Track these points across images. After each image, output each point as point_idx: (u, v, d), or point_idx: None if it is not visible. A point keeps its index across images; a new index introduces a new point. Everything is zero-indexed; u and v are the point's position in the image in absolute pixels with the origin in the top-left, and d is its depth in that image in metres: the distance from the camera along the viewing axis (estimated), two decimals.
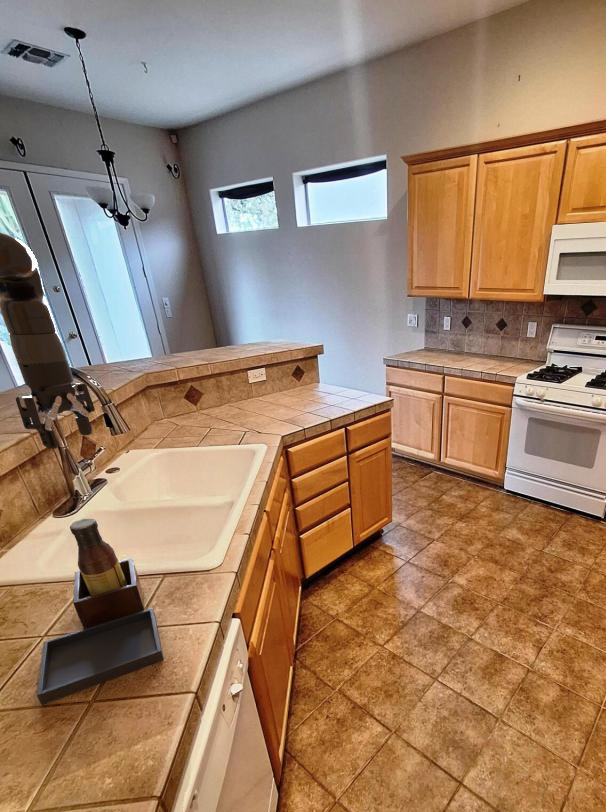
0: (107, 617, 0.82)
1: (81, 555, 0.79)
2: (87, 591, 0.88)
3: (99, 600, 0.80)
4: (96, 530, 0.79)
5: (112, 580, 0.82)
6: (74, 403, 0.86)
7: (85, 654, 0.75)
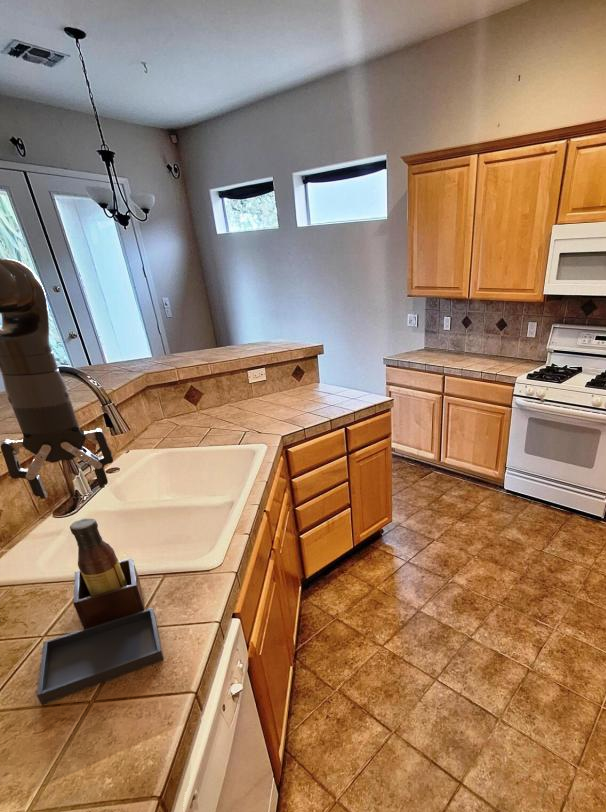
0: (107, 617, 0.82)
1: (81, 555, 0.79)
2: (87, 591, 0.88)
3: (99, 600, 0.80)
4: (96, 530, 0.79)
5: (112, 580, 0.82)
6: (74, 453, 0.72)
7: (85, 654, 0.75)
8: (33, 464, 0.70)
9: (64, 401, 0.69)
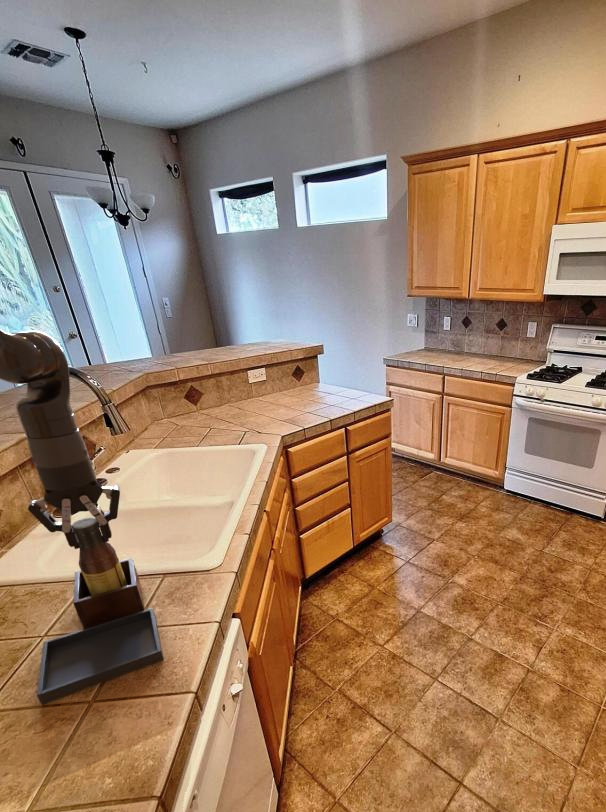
0: (107, 617, 0.82)
1: (82, 554, 0.79)
2: (87, 591, 0.88)
3: (99, 600, 0.80)
4: (98, 530, 0.79)
5: (112, 580, 0.82)
6: (88, 507, 0.76)
7: (85, 654, 0.75)
8: (63, 519, 0.75)
9: (83, 458, 0.73)
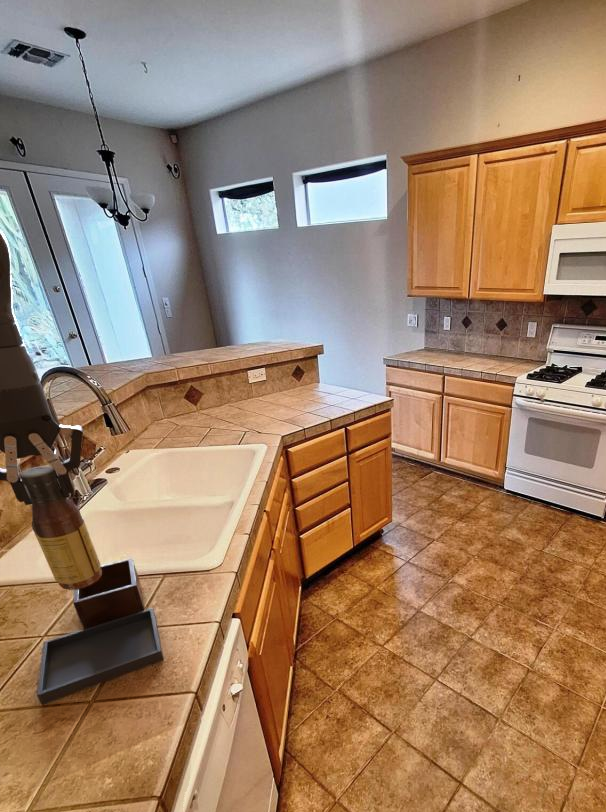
0: (107, 617, 0.82)
1: (35, 512, 0.62)
2: (87, 591, 0.88)
3: (99, 600, 0.80)
4: (55, 481, 0.62)
5: (75, 546, 0.66)
6: (40, 449, 0.60)
7: (85, 654, 0.75)
8: (7, 463, 0.58)
9: (32, 383, 0.56)
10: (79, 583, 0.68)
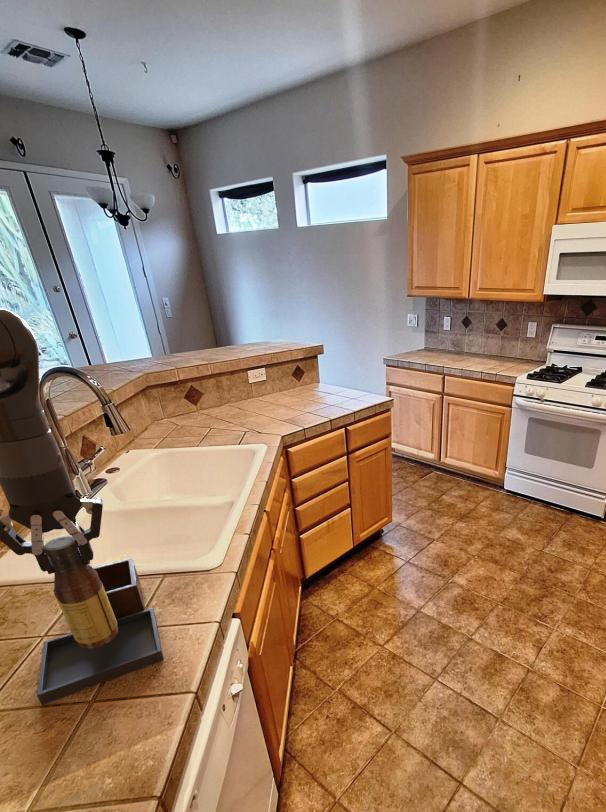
0: None
1: (57, 581, 0.65)
2: None
3: None
4: (76, 551, 0.66)
5: (94, 609, 0.69)
6: (63, 524, 0.63)
7: (85, 654, 0.75)
8: (32, 539, 0.62)
9: (57, 466, 0.60)
10: (97, 642, 0.72)
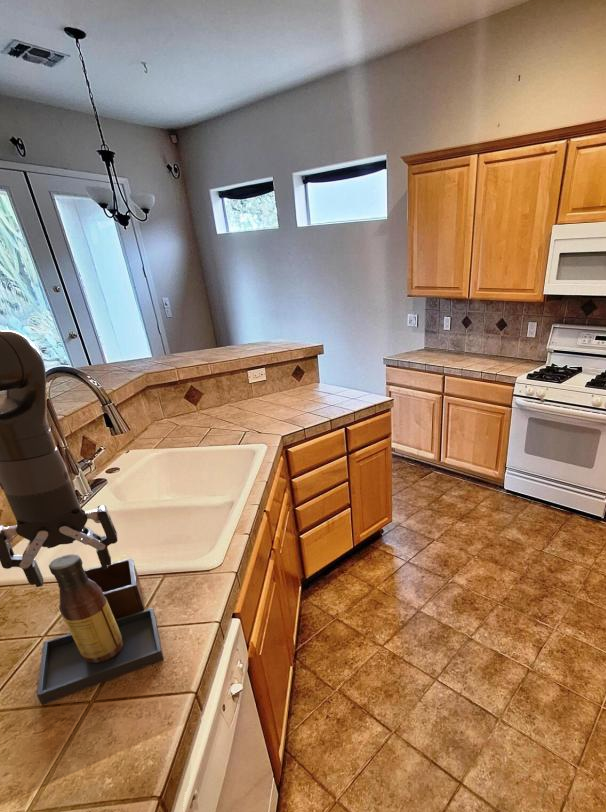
0: None
1: (63, 598, 0.67)
2: None
3: None
4: (80, 568, 0.67)
5: (99, 625, 0.71)
6: (74, 537, 0.65)
7: None
8: (28, 552, 0.62)
9: (63, 483, 0.61)
10: (103, 656, 0.73)
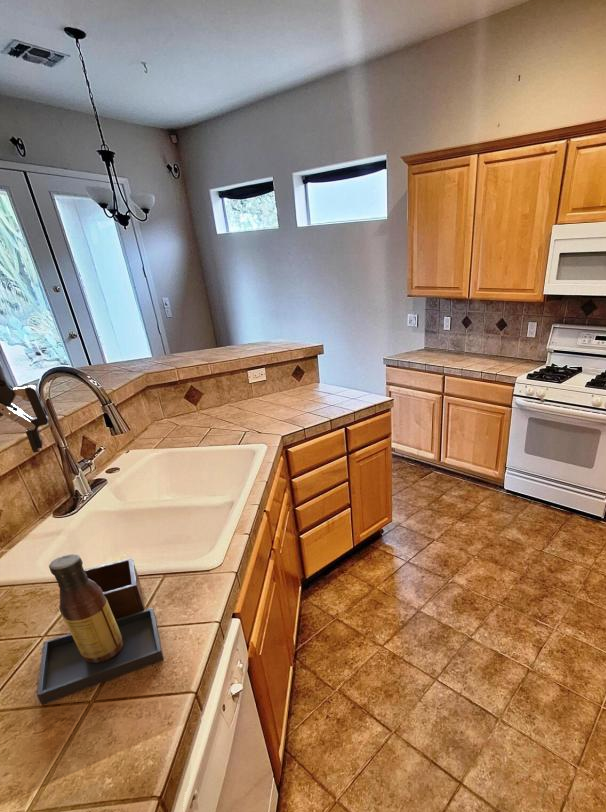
0: None
1: (63, 598, 0.67)
2: None
3: None
4: (80, 568, 0.67)
5: (99, 625, 0.71)
6: (1, 410, 0.65)
7: None
8: None
9: None
10: (103, 657, 0.73)
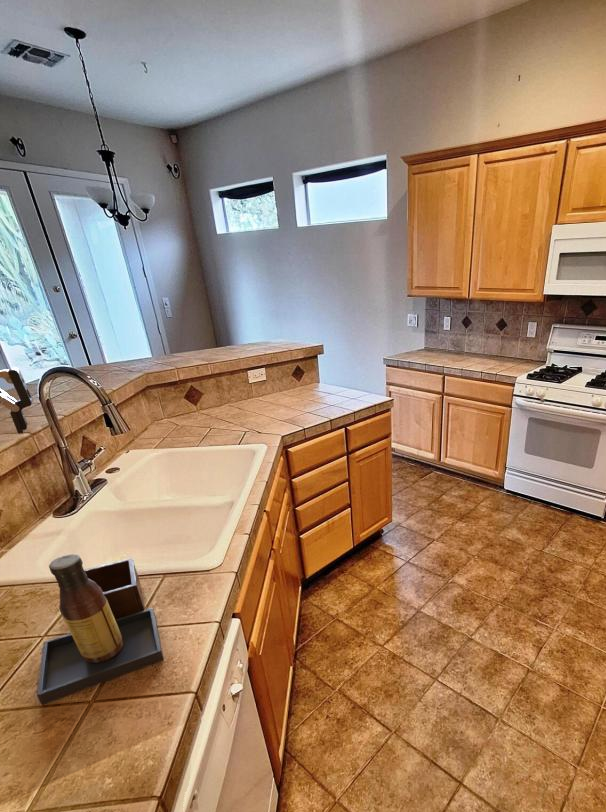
0: None
1: (63, 598, 0.67)
2: None
3: None
4: (80, 568, 0.67)
5: (99, 625, 0.71)
6: None
7: None
8: None
9: None
10: (103, 657, 0.73)
